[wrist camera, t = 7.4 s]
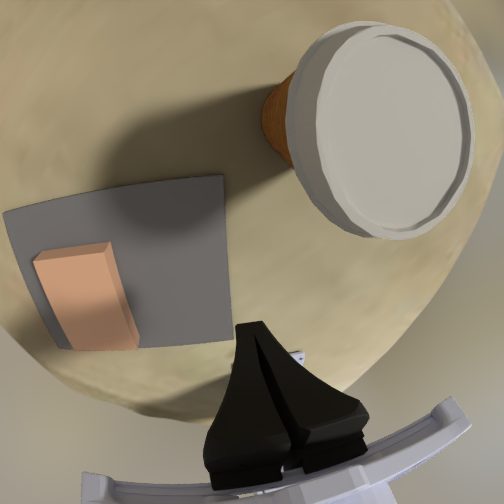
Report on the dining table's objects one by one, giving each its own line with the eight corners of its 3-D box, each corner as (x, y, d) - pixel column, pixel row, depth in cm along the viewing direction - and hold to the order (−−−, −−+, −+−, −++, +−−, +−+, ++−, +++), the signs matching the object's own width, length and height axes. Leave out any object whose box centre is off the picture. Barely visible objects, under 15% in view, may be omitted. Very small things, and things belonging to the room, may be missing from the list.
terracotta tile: (137, 349, 22) (74, 350, 21) (140, 334, 24) (79, 336, 23) (103, 252, 17) (32, 261, 16) (111, 239, 19) (43, 249, 18)
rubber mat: (233, 336, 27) (233, 339, 26) (60, 346, 23) (59, 348, 23) (222, 174, 19) (223, 175, 19) (4, 211, 16) (2, 213, 15)
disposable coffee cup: (266, 199, 21) (340, 289, 10) (217, 83, 16) (250, 30, 5) (367, 157, 20) (482, 204, 10) (334, 50, 16) (452, 20, 5)
